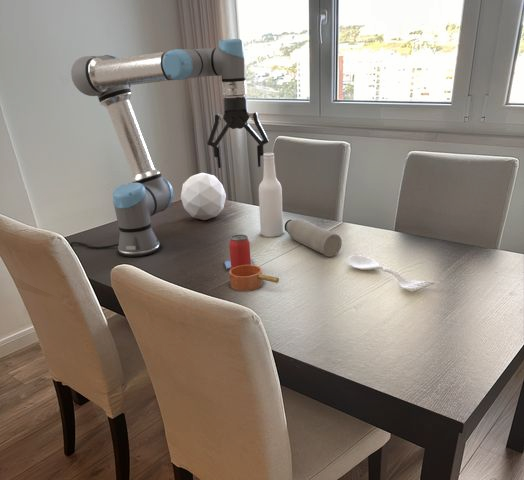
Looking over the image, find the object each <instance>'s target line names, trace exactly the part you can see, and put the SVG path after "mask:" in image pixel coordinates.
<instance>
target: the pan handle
mask: <svg viewBox="0 0 524 480" xmlns="http://www.w3.org/2000/svg"><path fill="white" fill-rule="evenodd" d="M258 279H261V280H262V281H266V282H270V283H275V284H278V283H279V282H280V278H279V277H276V276H272V275H268V274H263V273H262V274H258Z"/></svg>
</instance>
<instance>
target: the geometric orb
mask: <svg viewBox="0 0 524 480" xmlns="http://www.w3.org/2000/svg"><path fill="white" fill-rule="evenodd" d="M226 199H227V195H226V191H225V188H224V186H223V183H221V182H220V180H219V179H218V177H217V176H215V175H213V174H209V173H205V172H200V173H196V174H194V175H191V176H190V177H189V178H187V179H186V180H185V181H184V182H183V183H182V188H181V194H180V200H181V204H182V206H183V209H184V210H185V211H186V212H187V213H188V214H189V215H190V217H192V218H193V219H194V218H195V219H197V220H201V221H206V220H210V219H213V218H215V217H217V216H218V215H219V214H220V213H221V212H222V211H223V210H224V207H225V204H226Z"/></svg>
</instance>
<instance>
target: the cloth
mask: <svg viewBox="0 0 524 480" xmlns="http://www.w3.org/2000/svg"><path fill="white" fill-rule="evenodd" d="M251 265H253V262H252V261H251ZM224 266H225V269H226V270H227V271H230V270H231V260H225V261H224Z"/></svg>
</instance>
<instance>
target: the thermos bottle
mask: <svg viewBox="0 0 524 480" xmlns="http://www.w3.org/2000/svg"><path fill="white" fill-rule="evenodd" d="M284 231H285V232H287V234H288V236H289V237H290V238H291V239H292V240H294V241H295V242H298V243H300V244H302V245H304V246H306V247H308V248H309V249H311V250H314V251H316V252H318V253H319V254H322V255H324V256H325V257H328V258H332V257H334V256H337V254H339V252H340V251H341V249H342V246H343V245H342V244H343V242H342V241H343V240H342V238H341V236H340V235H339V234H337V233H335V232H333V231H330V230H328V229H325V228H324V227H320V226H318V225H316V224H314V223H311V222H310V221H307V220H304V219H302V218H296V219H288V220H287V221H286V222H285V223H284Z"/></svg>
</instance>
